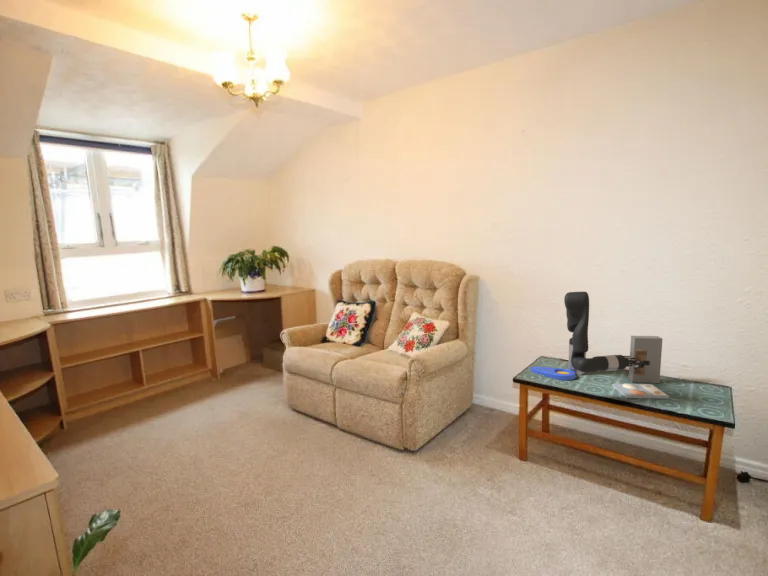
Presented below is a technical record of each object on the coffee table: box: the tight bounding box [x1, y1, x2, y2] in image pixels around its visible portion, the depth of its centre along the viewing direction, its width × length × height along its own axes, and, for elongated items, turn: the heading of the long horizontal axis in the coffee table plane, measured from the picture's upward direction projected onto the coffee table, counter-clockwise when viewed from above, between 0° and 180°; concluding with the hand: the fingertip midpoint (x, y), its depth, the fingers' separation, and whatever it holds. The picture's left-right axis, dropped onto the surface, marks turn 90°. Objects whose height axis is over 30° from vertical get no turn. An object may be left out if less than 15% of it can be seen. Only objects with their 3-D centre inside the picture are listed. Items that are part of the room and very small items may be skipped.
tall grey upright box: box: [627, 335, 663, 384], centre depth 227 cm, size 14×6×25 cm, turn 80°
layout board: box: [611, 383, 670, 399], centre depth 214 cm, size 16×20×2 cm
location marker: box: [530, 366, 576, 381], centre depth 242 cm, size 13×3×25 cm
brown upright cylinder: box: [634, 349, 647, 376], centre depth 207 cm, size 5×5×12 cm
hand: (645, 361), depth 207 cm, fingers closed on brown upright cylinder, 5 cm apart
